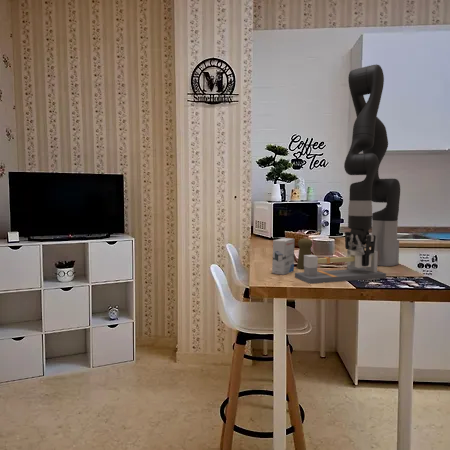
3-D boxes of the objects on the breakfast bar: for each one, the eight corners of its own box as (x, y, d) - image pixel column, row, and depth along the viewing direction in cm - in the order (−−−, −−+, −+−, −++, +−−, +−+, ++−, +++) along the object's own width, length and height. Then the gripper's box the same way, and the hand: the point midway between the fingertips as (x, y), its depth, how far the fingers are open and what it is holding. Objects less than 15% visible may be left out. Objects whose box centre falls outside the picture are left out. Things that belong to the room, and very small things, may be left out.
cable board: (367, 272, 145) (367, 248, 144) (386, 278, 136) (386, 252, 135) (295, 277, 137) (295, 251, 136) (309, 283, 128) (309, 256, 127)
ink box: (281, 269, 151) (282, 237, 150) (294, 271, 148) (295, 238, 147) (271, 273, 143) (272, 240, 142) (285, 275, 141) (285, 240, 140)
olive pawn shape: (313, 269, 150) (313, 239, 149) (296, 269, 151) (296, 239, 150) (313, 266, 156) (313, 238, 155) (296, 266, 157) (297, 237, 156)
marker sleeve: (359, 263, 142) (360, 249, 141) (371, 266, 136) (371, 251, 135) (347, 264, 140) (347, 250, 140) (357, 267, 134) (358, 252, 134)
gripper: (383, 215, 131) (382, 267, 132) (357, 213, 145) (355, 260, 146) (363, 215, 129) (362, 268, 130) (338, 213, 142) (337, 261, 144)
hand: (358, 264), depth 138 cm, fingers closed on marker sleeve, 6 cm apart
